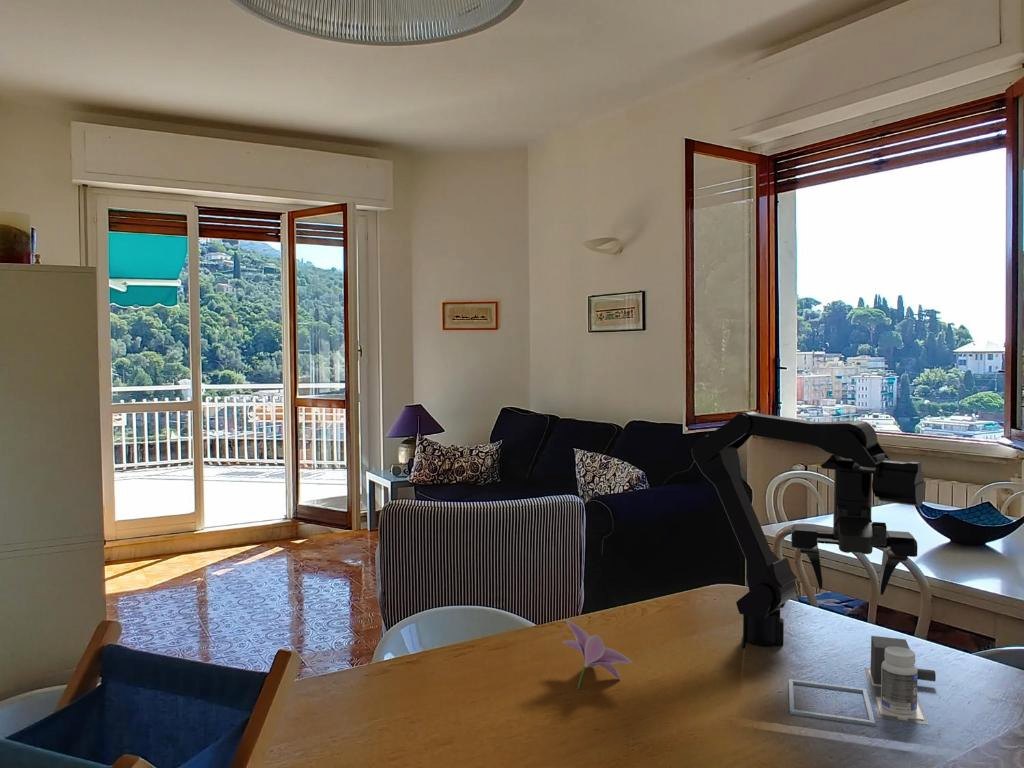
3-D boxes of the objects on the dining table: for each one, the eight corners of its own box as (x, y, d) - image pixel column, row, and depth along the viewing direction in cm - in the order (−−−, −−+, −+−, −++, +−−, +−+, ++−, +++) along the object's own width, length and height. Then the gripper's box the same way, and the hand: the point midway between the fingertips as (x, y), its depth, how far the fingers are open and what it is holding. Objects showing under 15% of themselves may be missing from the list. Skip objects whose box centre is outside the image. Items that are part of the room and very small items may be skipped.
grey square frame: (789, 718, 112) (789, 710, 112) (788, 686, 123) (788, 678, 122) (875, 731, 108) (875, 722, 108) (866, 696, 119) (866, 689, 119)
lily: (635, 705, 119) (647, 641, 122) (568, 684, 116) (583, 619, 119) (597, 697, 129) (610, 639, 133) (535, 678, 126) (550, 619, 130)
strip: (877, 723, 111) (877, 715, 111) (864, 672, 128) (864, 666, 128) (928, 730, 108) (929, 722, 108) (908, 677, 126) (908, 671, 125)
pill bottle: (921, 716, 110) (922, 658, 110) (885, 713, 111) (886, 656, 111) (911, 701, 115) (912, 646, 115) (877, 698, 116) (878, 643, 116)
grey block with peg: (874, 684, 121) (875, 647, 121) (870, 672, 126) (871, 635, 126) (937, 692, 118) (938, 654, 118) (931, 679, 123) (932, 642, 123)
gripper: (793, 503, 123) (791, 600, 124) (924, 511, 117) (922, 613, 118) (791, 491, 134) (790, 580, 134) (912, 497, 128) (910, 591, 128)
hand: (850, 591), depth 129 cm, fingers open, 9 cm apart
